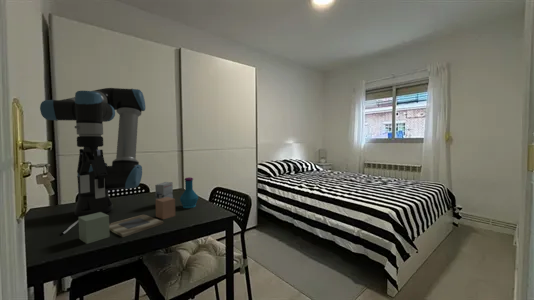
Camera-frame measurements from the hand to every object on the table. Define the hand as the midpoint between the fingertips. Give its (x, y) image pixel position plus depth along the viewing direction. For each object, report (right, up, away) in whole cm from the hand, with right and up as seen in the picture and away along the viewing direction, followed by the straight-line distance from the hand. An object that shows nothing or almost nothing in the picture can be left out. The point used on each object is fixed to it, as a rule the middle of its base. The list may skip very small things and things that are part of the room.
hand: (92, 195), depth 84 cm
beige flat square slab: (+8, -15, +13) cm, 21 cm away
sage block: (0, -16, +1) cm, 16 cm away
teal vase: (+22, -14, +40) cm, 47 cm away
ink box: (+8, -14, +42) cm, 45 cm away
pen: (-17, -16, +12) cm, 26 cm away
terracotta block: (+16, -14, +24) cm, 32 cm away
